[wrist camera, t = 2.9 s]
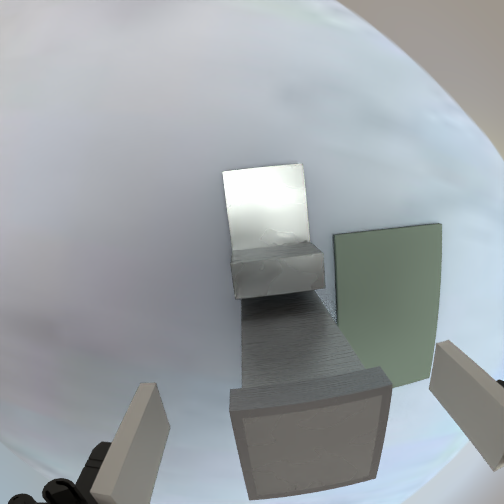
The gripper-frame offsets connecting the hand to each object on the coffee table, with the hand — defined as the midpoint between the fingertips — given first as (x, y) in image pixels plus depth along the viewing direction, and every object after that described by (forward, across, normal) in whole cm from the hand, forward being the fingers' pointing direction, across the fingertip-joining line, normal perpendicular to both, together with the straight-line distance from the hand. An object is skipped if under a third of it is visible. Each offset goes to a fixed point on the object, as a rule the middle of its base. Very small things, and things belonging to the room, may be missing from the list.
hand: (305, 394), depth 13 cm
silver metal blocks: (+10, 0, 0) cm, 10 cm away
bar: (+10, 0, 0) cm, 10 cm away
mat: (+10, +9, -2) cm, 14 cm away
